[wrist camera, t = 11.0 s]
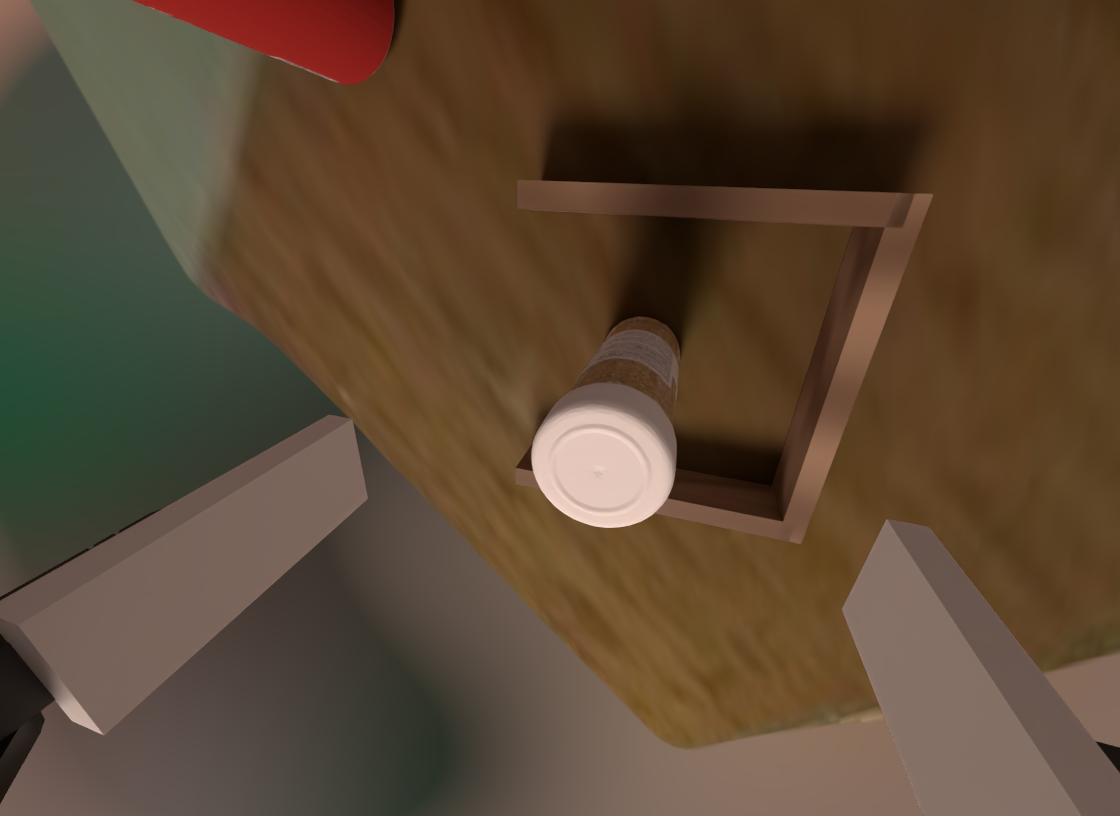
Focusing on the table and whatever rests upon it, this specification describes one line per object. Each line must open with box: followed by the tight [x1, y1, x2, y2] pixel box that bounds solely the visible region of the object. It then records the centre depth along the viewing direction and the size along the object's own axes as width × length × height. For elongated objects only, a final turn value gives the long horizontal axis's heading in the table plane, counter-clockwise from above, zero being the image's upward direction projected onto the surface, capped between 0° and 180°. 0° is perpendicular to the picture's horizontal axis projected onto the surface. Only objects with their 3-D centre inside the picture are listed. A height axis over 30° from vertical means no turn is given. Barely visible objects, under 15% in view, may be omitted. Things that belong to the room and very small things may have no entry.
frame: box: [516, 180, 933, 544], centre depth 22 cm, size 17×17×4 cm
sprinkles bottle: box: [531, 316, 680, 528], centre depth 19 cm, size 5×5×13 cm
